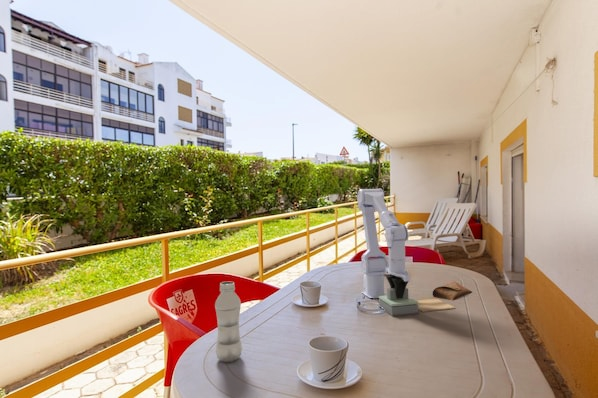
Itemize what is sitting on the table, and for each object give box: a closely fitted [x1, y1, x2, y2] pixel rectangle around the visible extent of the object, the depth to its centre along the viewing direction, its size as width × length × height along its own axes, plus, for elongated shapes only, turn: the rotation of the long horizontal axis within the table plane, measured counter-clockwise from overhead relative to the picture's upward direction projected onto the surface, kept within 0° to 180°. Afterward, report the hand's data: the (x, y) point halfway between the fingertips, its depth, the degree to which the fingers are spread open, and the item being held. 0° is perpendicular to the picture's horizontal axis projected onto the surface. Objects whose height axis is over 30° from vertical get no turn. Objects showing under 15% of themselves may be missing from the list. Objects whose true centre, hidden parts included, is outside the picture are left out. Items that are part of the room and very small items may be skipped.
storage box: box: [378, 298, 419, 317], centre depth 126 cm, size 10×10×3 cm
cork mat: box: [413, 296, 456, 313], centre depth 131 cm, size 13×13×1 cm
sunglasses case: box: [432, 280, 472, 301], centre depth 145 cm, size 18×7×7 cm
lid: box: [378, 287, 418, 307], centre depth 126 cm, size 10×10×5 cm
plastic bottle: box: [214, 281, 243, 363], centre depth 92 cm, size 6×7×20 cm
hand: (397, 296), depth 126 cm, fingers closed on lid, 2 cm apart
